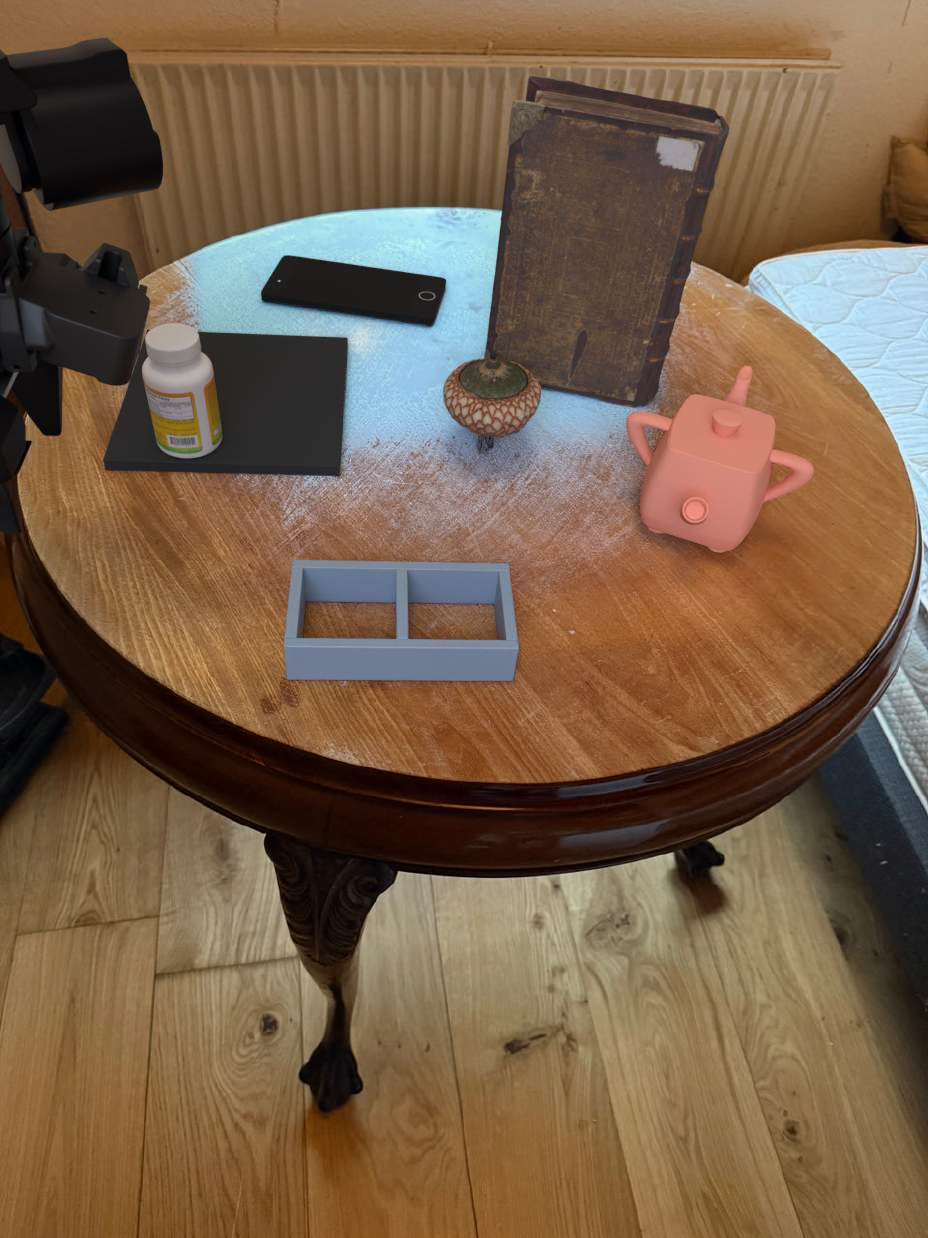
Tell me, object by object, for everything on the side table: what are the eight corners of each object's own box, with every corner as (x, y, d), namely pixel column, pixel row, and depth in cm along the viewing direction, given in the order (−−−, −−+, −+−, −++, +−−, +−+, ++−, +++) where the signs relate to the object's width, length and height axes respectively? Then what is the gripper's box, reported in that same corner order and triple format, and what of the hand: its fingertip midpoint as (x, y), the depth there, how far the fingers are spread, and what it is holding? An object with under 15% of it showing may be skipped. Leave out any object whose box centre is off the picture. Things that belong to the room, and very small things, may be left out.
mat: (105, 470, 75) (102, 460, 75) (148, 338, 89) (147, 329, 88) (339, 476, 77) (339, 466, 76) (347, 346, 91) (347, 337, 90)
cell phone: (432, 327, 94) (433, 319, 93) (259, 301, 95) (258, 293, 94) (446, 285, 100) (447, 277, 99) (284, 261, 101) (283, 253, 100)
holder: (286, 680, 62) (283, 646, 60) (295, 593, 68) (292, 559, 65) (513, 681, 64) (519, 648, 61) (503, 596, 69) (508, 563, 67)
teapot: (800, 565, 74) (848, 463, 66) (666, 588, 71) (700, 484, 64) (718, 456, 83) (752, 357, 76) (596, 473, 80) (619, 371, 73)
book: (662, 385, 90) (736, 108, 72) (648, 424, 85) (723, 140, 67) (499, 344, 93) (531, 68, 74) (477, 380, 88) (504, 95, 70)
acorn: (507, 415, 85) (520, 316, 77) (548, 469, 80) (566, 368, 72) (424, 432, 82) (429, 330, 75) (461, 489, 77) (470, 386, 70)
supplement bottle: (199, 413, 80) (182, 310, 73) (236, 443, 77) (222, 339, 70) (144, 437, 77) (120, 332, 70) (180, 468, 75) (160, 363, 68)
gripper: (74, 337, 39) (142, 593, 50) (152, 157, 52) (192, 396, 63) (-206, 326, 38) (-72, 590, 49) (-57, 146, 51) (22, 390, 62)
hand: (34, 480), depth 56 cm, fingers open, 9 cm apart
